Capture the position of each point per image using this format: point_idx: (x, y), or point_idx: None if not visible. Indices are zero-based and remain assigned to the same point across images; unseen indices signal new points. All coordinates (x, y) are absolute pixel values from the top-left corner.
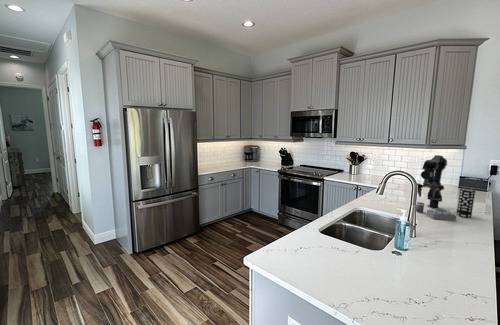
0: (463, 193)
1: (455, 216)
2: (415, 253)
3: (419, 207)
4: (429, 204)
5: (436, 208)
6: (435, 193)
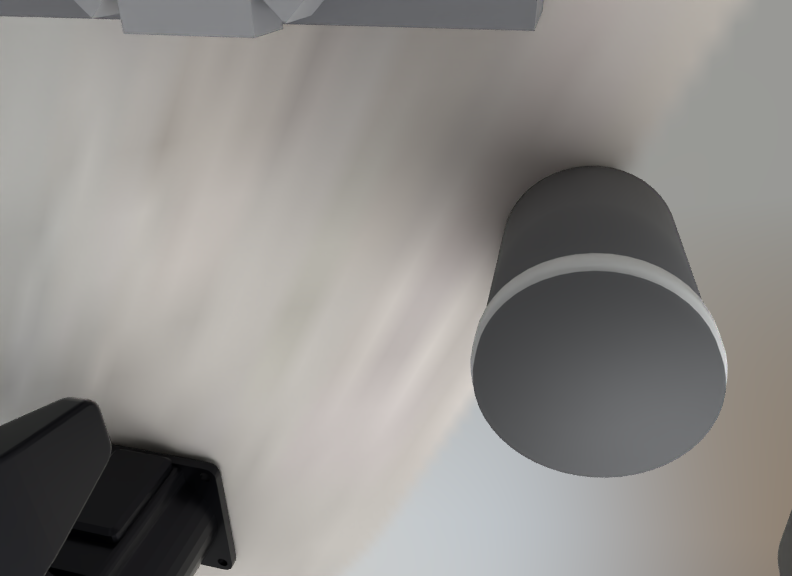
0: None
1: None
2: None
3: (659, 238)
4: (201, 560)
5: (234, 25)
6: None
